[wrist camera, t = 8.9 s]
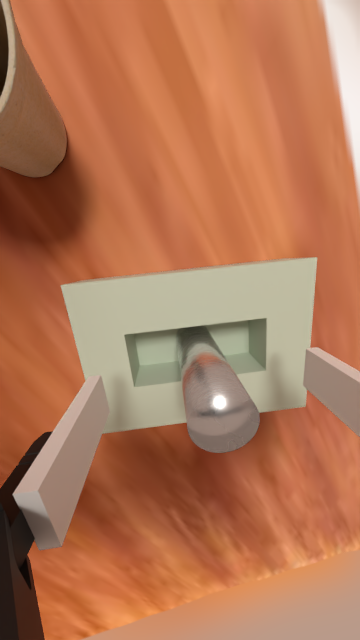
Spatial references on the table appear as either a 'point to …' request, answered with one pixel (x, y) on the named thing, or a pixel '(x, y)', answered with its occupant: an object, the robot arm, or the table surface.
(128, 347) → the slot block
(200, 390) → the pin
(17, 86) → the flower pot
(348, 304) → the table surface
